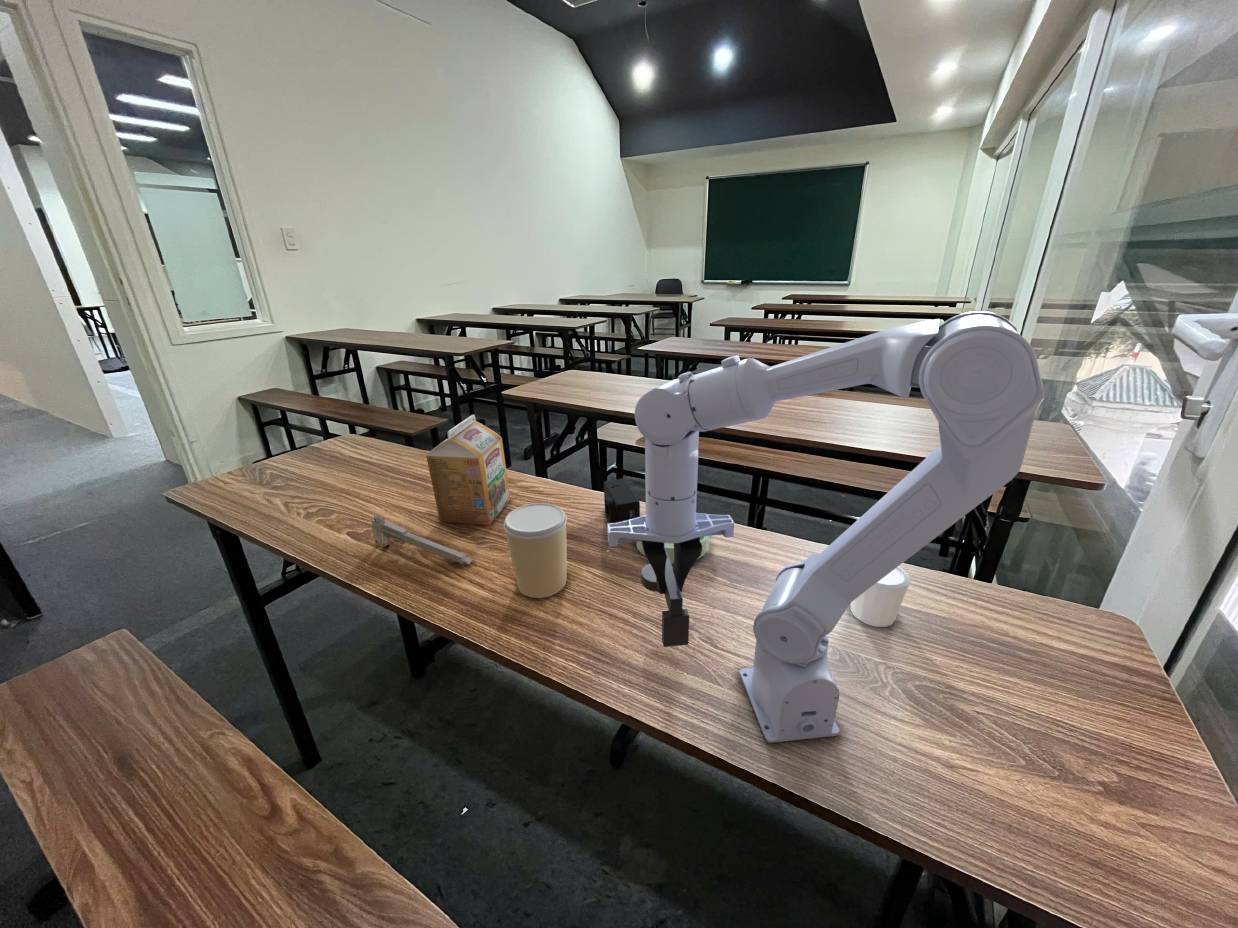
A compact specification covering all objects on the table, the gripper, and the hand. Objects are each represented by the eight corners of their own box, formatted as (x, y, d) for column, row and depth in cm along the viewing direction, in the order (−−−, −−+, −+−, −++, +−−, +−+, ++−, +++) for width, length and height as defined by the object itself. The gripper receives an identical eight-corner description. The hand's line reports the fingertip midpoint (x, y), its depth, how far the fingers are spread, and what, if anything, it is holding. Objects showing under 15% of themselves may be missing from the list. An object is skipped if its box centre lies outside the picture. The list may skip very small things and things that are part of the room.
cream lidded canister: (580, 569, 79) (575, 505, 74) (558, 606, 71) (551, 536, 66) (528, 561, 81) (520, 499, 77) (501, 596, 73) (491, 528, 68)
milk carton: (489, 524, 93) (474, 432, 85) (439, 521, 95) (421, 431, 87) (510, 499, 103) (498, 414, 95) (464, 496, 104) (449, 413, 97)
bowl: (718, 562, 80) (719, 545, 78) (640, 568, 79) (640, 551, 77) (699, 523, 91) (700, 507, 90) (631, 528, 90) (631, 511, 89)
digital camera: (598, 512, 96) (597, 481, 94) (624, 508, 98) (624, 477, 95) (611, 539, 87) (610, 505, 84) (640, 534, 88) (639, 500, 86)
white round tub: (907, 633, 64) (918, 590, 61) (851, 627, 65) (860, 585, 62) (891, 599, 70) (901, 559, 67) (840, 594, 71) (848, 555, 68)
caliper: (376, 545, 87) (367, 515, 85) (380, 542, 88) (372, 512, 86) (468, 565, 81) (462, 533, 78) (472, 562, 82) (466, 530, 79)
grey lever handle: (695, 644, 57) (697, 598, 54) (656, 647, 57) (656, 601, 54) (671, 569, 70) (671, 530, 68) (639, 572, 70) (638, 532, 67)
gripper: (723, 470, 58) (717, 564, 63) (603, 478, 56) (608, 573, 62) (743, 496, 51) (735, 599, 56) (608, 506, 50) (612, 610, 55)
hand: (669, 588), depth 59 cm, fingers closed on grey lever handle
